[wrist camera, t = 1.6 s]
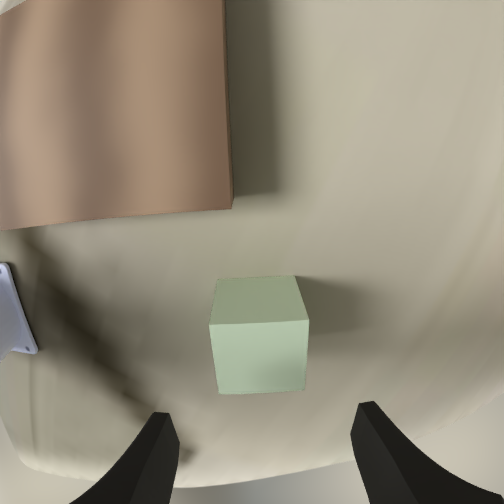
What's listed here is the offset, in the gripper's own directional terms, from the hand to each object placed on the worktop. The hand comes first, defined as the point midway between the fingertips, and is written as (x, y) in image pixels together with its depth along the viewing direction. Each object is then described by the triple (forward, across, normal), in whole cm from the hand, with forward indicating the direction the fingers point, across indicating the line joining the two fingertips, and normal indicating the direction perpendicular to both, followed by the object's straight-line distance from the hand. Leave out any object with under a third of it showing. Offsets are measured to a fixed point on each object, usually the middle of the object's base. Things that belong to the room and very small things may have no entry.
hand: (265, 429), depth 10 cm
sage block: (+9, 0, 0) cm, 9 cm away
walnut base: (+9, +8, -14) cm, 19 cm away
